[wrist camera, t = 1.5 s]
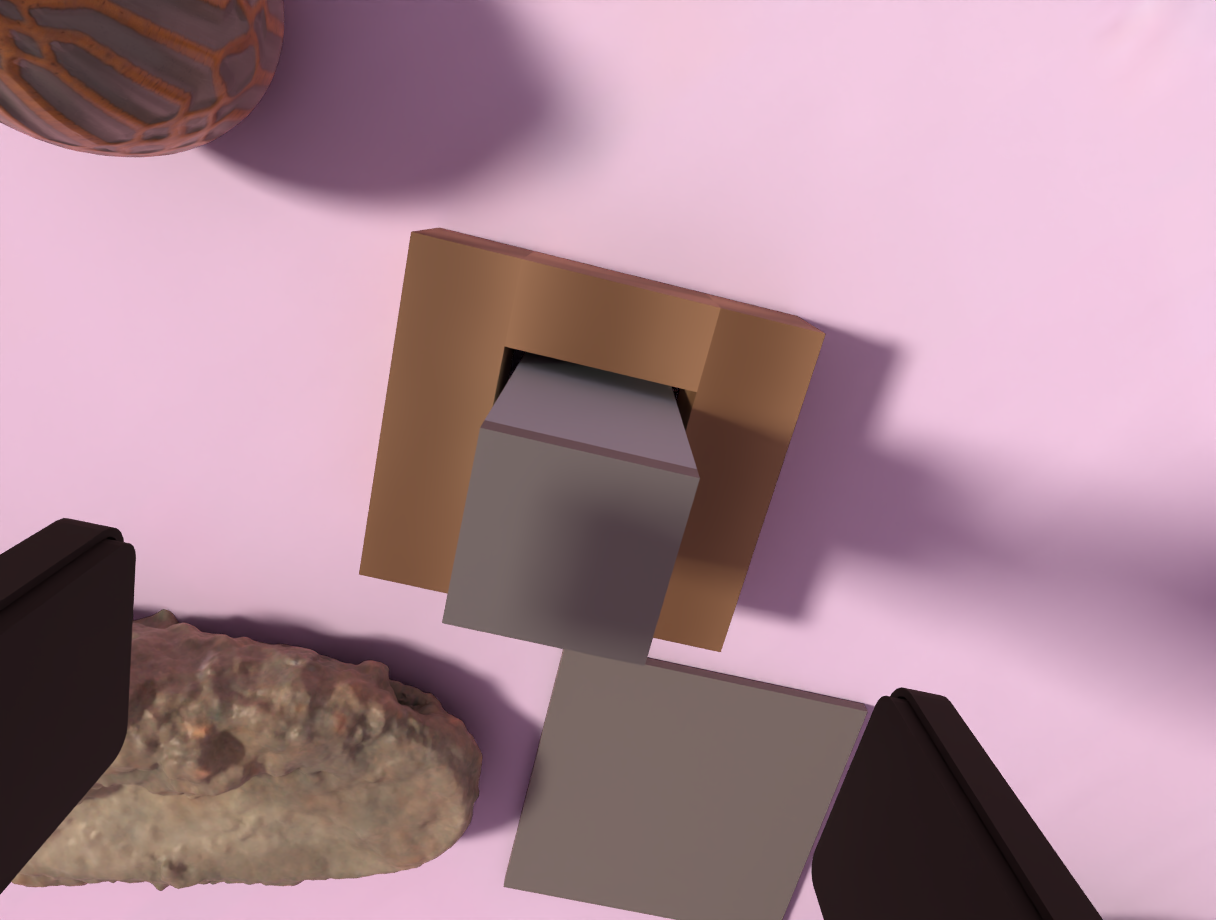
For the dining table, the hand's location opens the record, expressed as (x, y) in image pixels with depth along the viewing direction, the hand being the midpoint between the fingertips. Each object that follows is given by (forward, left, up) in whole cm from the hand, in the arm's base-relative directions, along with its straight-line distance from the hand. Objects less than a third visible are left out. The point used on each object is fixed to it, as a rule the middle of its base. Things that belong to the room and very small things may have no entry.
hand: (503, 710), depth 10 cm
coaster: (-7, +12, -13) cm, 19 cm away
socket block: (-1, 0, -13) cm, 13 cm away
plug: (-1, 0, -13) cm, 13 cm away
